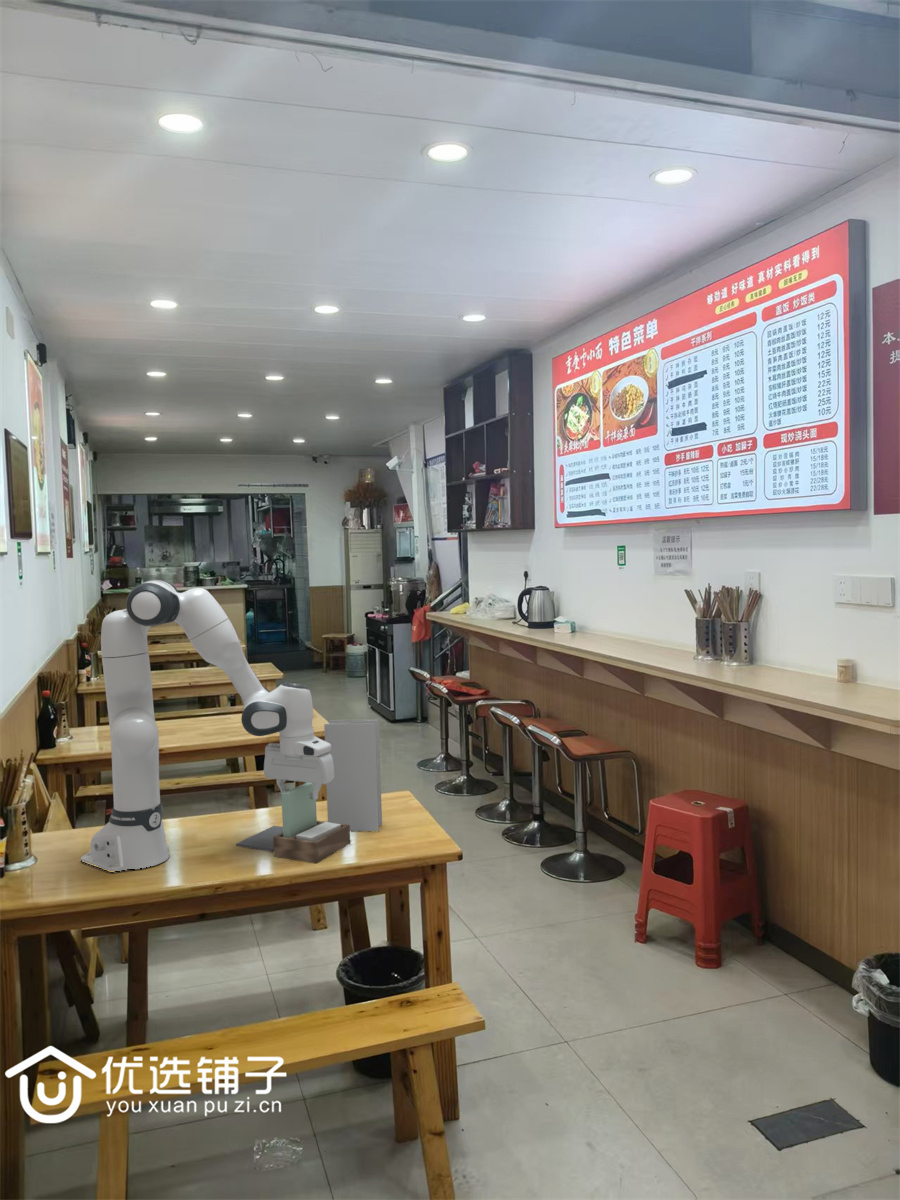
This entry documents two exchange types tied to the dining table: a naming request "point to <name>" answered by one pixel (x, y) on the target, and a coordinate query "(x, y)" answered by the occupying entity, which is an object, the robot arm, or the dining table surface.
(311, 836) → the offcut upper
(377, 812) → the brochure
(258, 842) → the mat
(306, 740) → the robot arm
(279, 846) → the rack
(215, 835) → the dining table surface
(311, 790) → the block
